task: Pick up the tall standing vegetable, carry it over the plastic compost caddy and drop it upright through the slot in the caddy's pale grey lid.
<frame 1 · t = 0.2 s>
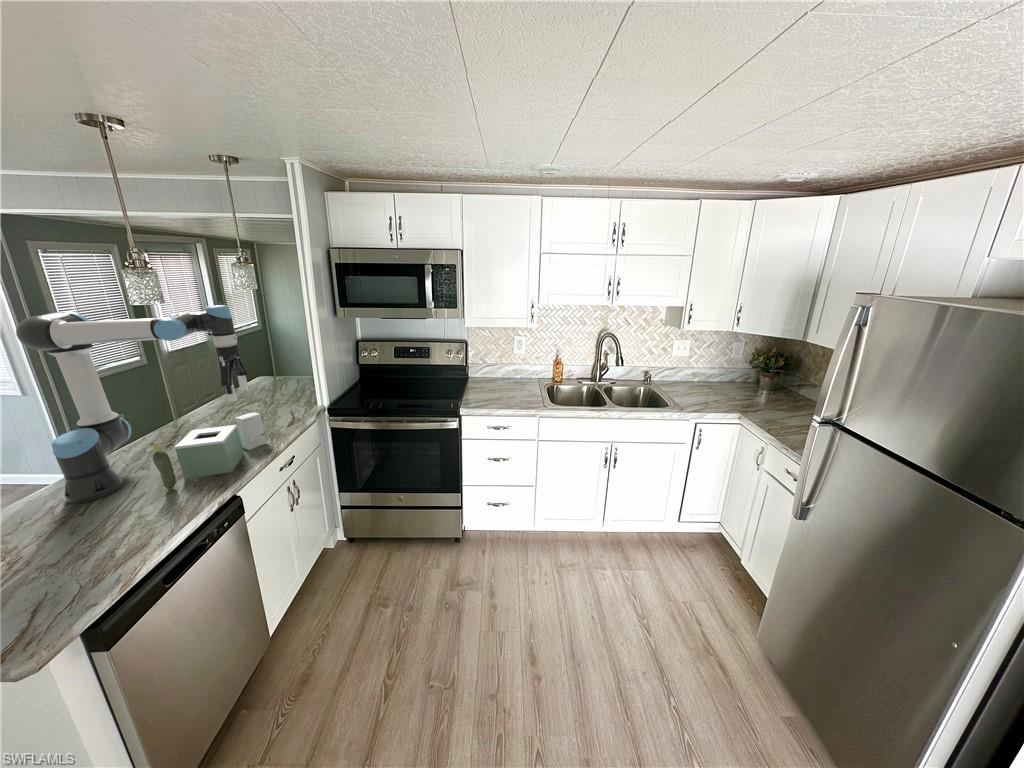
hand: (239, 395, 165), 28 cm above the countertop, fingers open, 13 cm apart
caddy: (216, 465, 166), on the countertop
vegetable: (171, 490, 149), on the countertop
skincare box: (254, 445, 183), on the countertop
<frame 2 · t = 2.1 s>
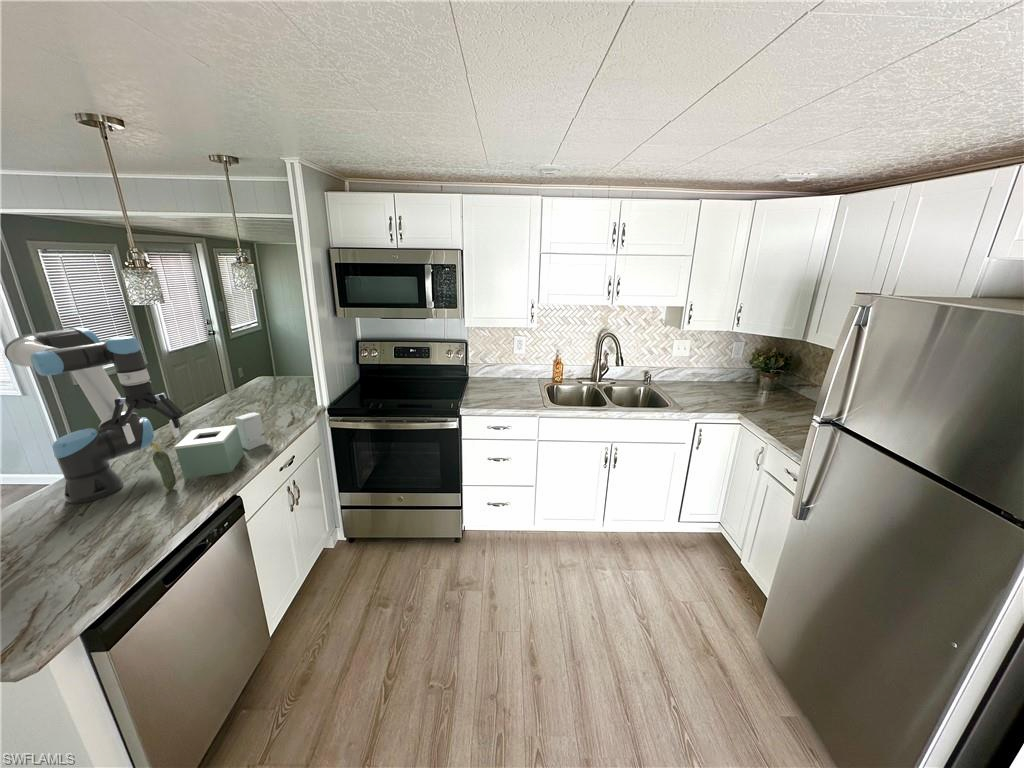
hand: (155, 439, 142), 21 cm above the countertop, fingers open, 13 cm apart
nothing on the countertop moved.
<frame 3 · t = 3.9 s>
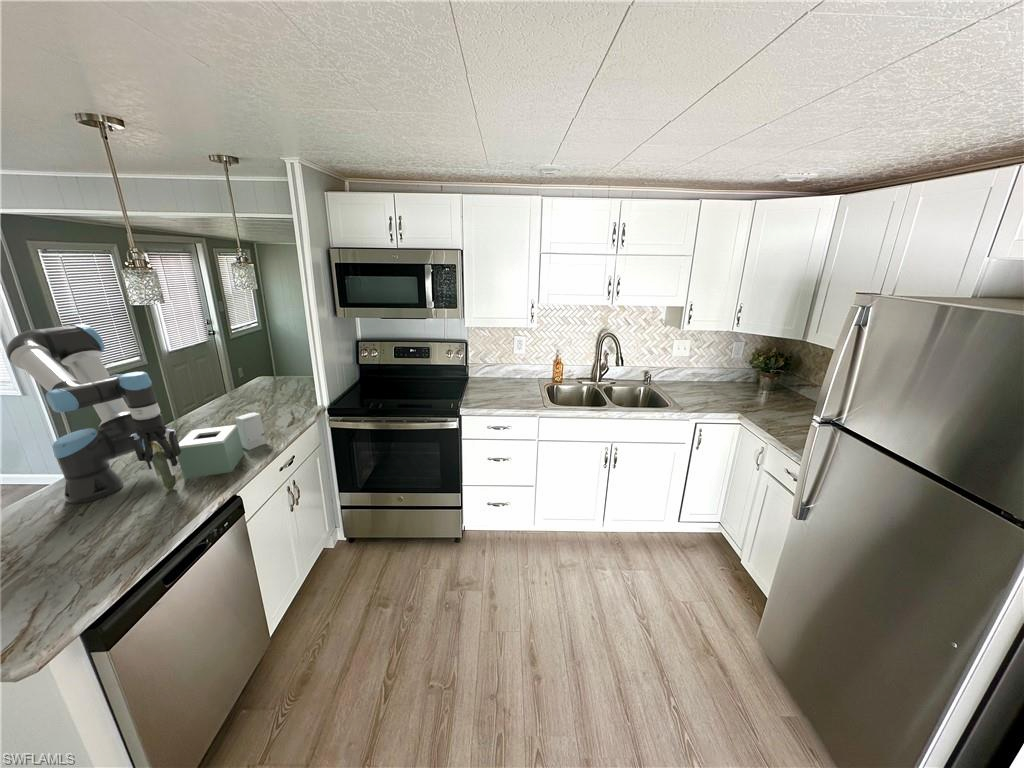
hand: (166, 474, 147), 7 cm above the countertop, fingers closed on vegetable, 4 cm apart
vegetable: (171, 490, 149), on the countertop, touching gripper
everything else where it was.
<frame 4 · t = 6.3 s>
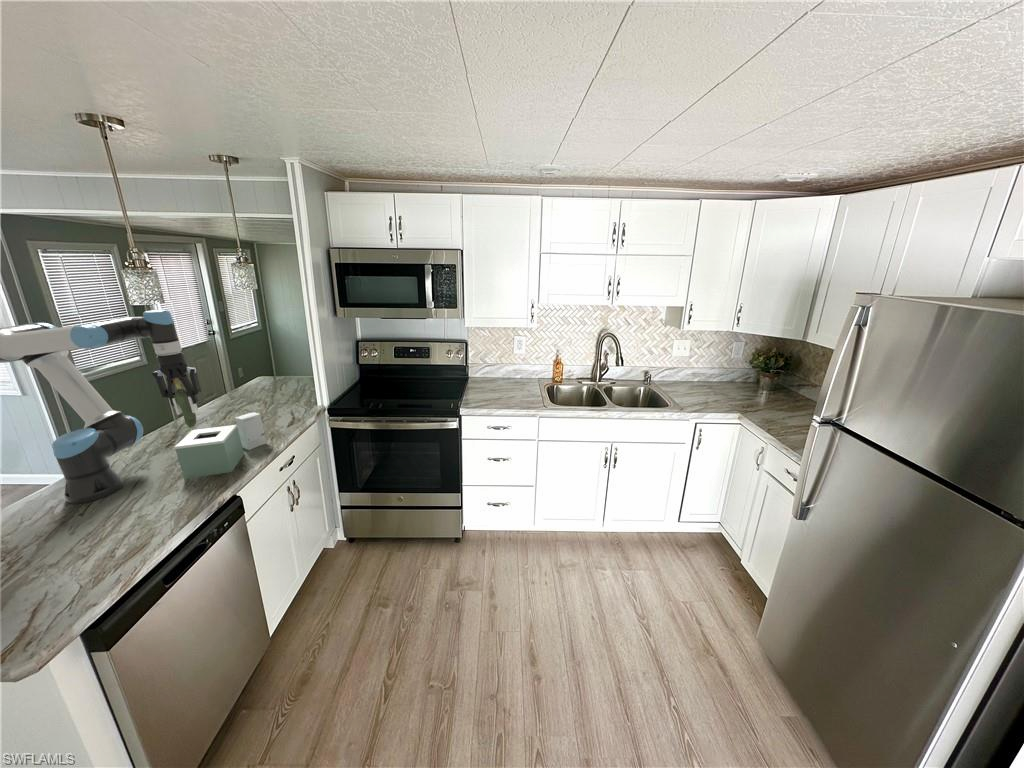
hand: (187, 412, 153), 26 cm above the countertop, fingers closed on vegetable, 4 cm apart
vegetable: (192, 429, 155), point 19 cm above the countertop, touching gripper
everything else where it was.
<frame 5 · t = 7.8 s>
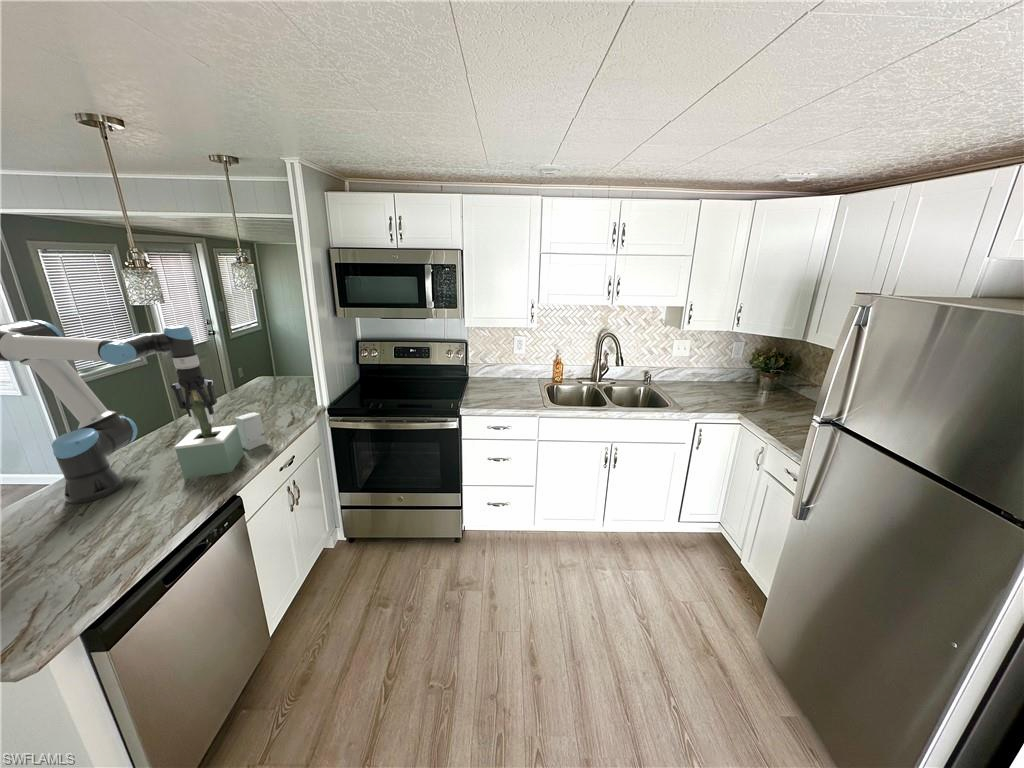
hand: (204, 422, 160), 19 cm above the countertop, fingers closed on vegetable, 4 cm apart
vegetable: (208, 438, 162), point 13 cm above the countertop, touching gripper
everything else where it was.
when the fingers open (18 cm above the countertop, at t = 8.8 s): vegetable drops 10 cm, resting on caddy.
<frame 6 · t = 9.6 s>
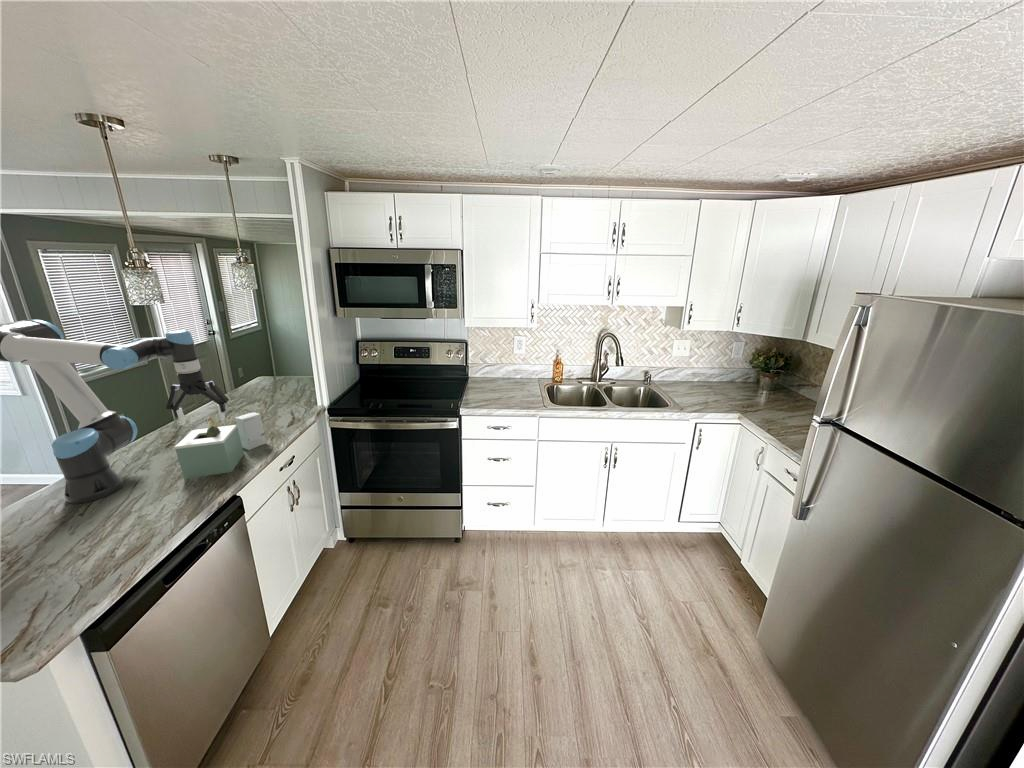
hand: (203, 422, 160), 20 cm above the countertop, fingers open, 13 cm apart
vegetable: (213, 464, 165), point 1 cm above the countertop, touching caddy
everything else where it was.
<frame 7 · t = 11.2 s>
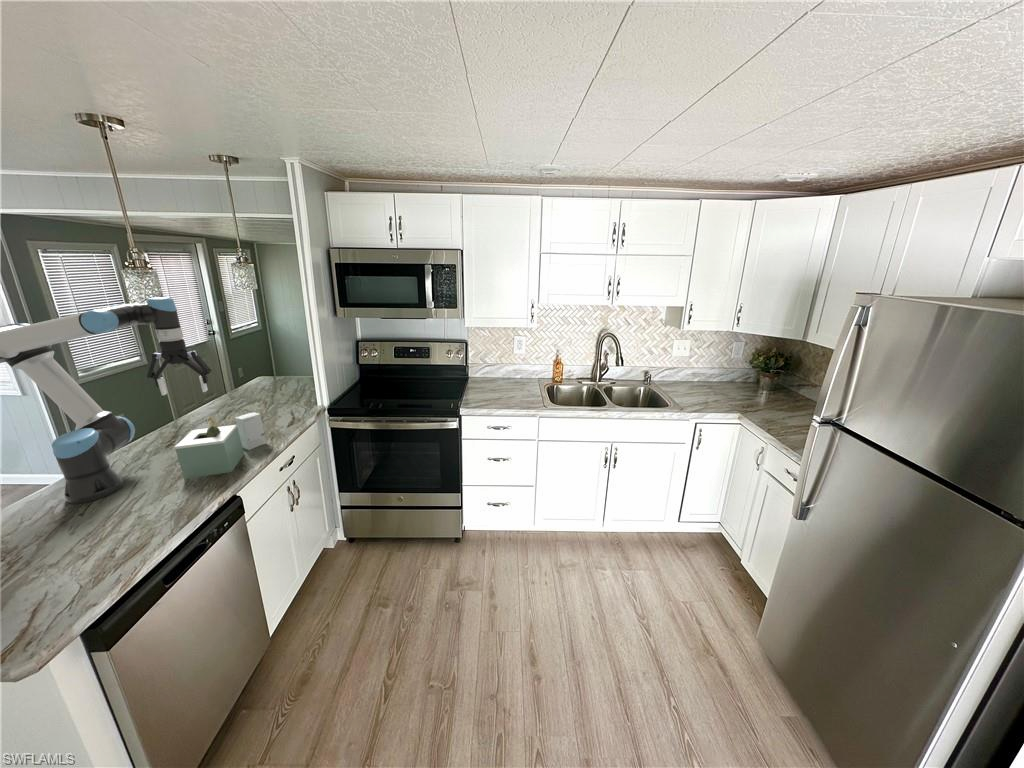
hand: (185, 392, 157), 32 cm above the countertop, fingers open, 13 cm apart
nothing on the countertop moved.
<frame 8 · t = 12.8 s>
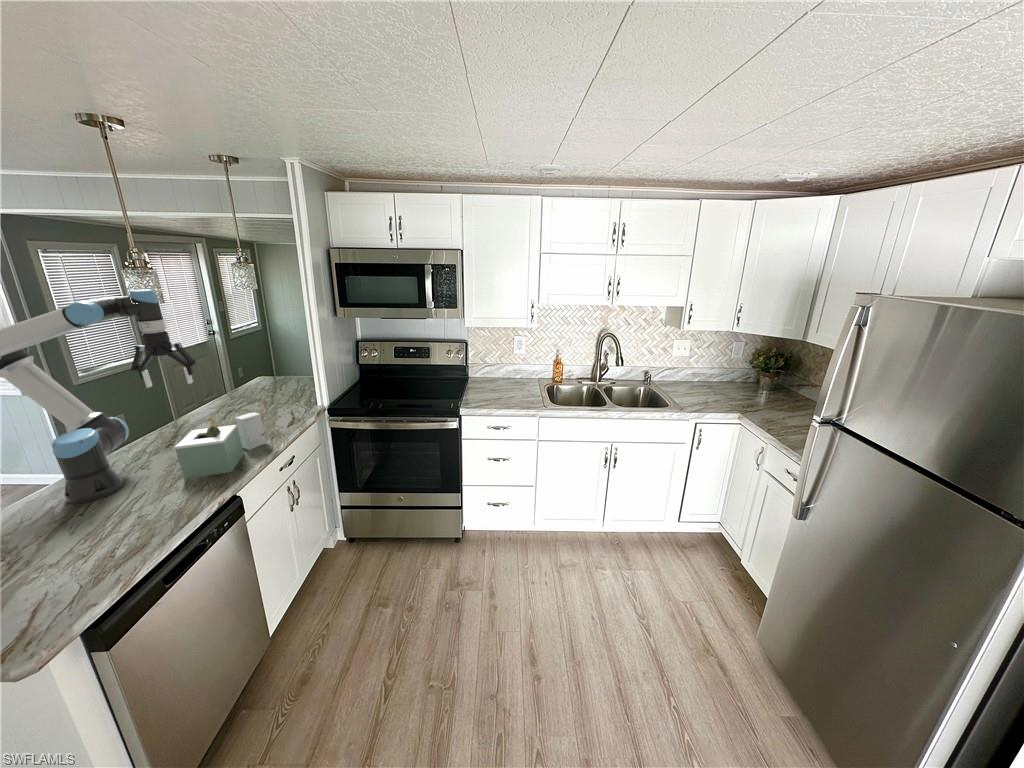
hand: (170, 384, 158), 35 cm above the countertop, fingers open, 13 cm apart
nothing on the countertop moved.
at the end: vegetable inside the target area on the caddy (0.7 cm from its centre), point 1.0 cm above the caddy's base; vegetable touching caddy; the gripper is holding nothing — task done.
